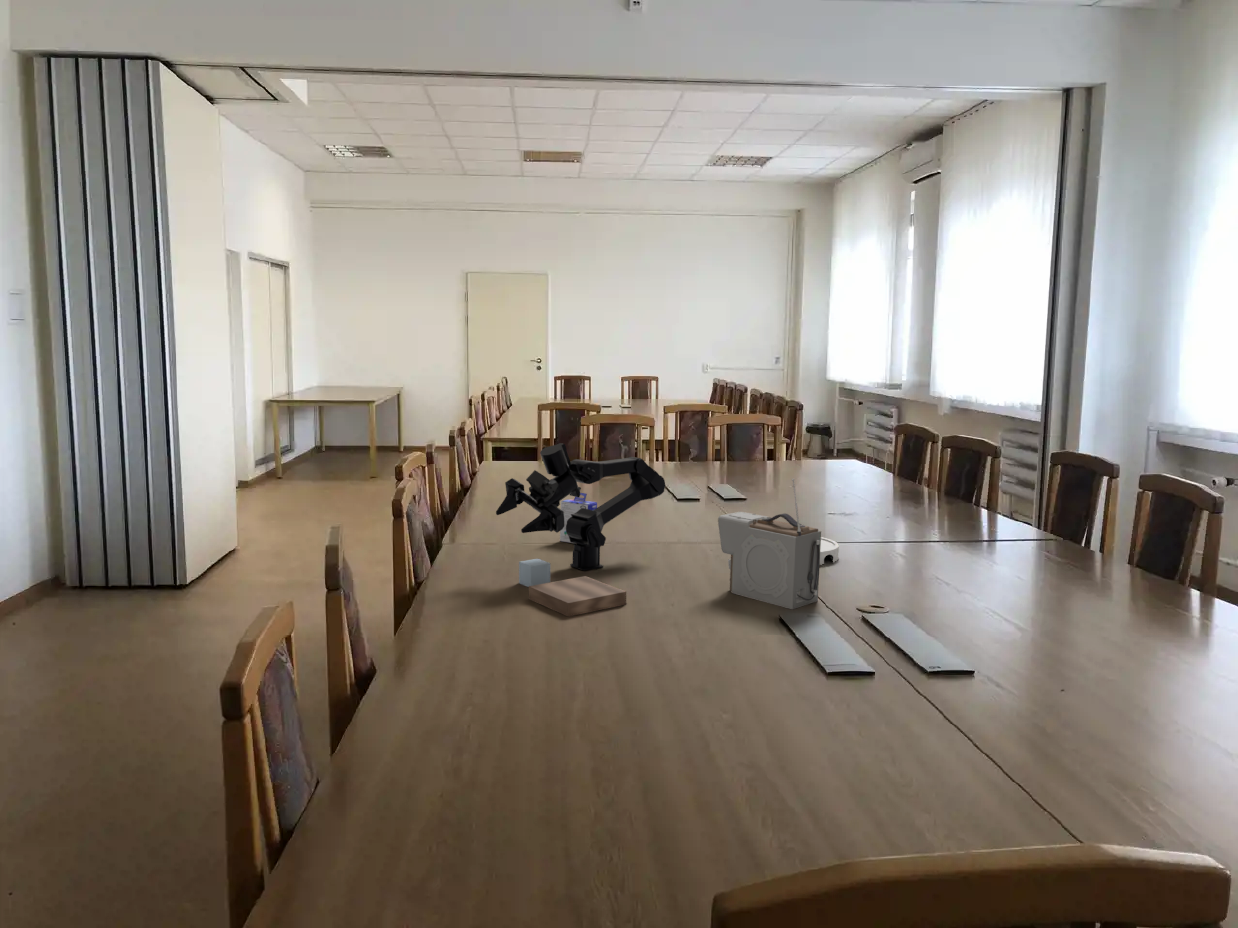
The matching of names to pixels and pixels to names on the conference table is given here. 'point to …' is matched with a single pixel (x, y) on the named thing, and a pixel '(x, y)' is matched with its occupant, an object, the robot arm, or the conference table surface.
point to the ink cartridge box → (574, 511)
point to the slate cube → (534, 572)
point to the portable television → (772, 558)
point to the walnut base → (577, 595)
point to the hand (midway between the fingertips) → (509, 522)
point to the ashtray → (828, 549)
